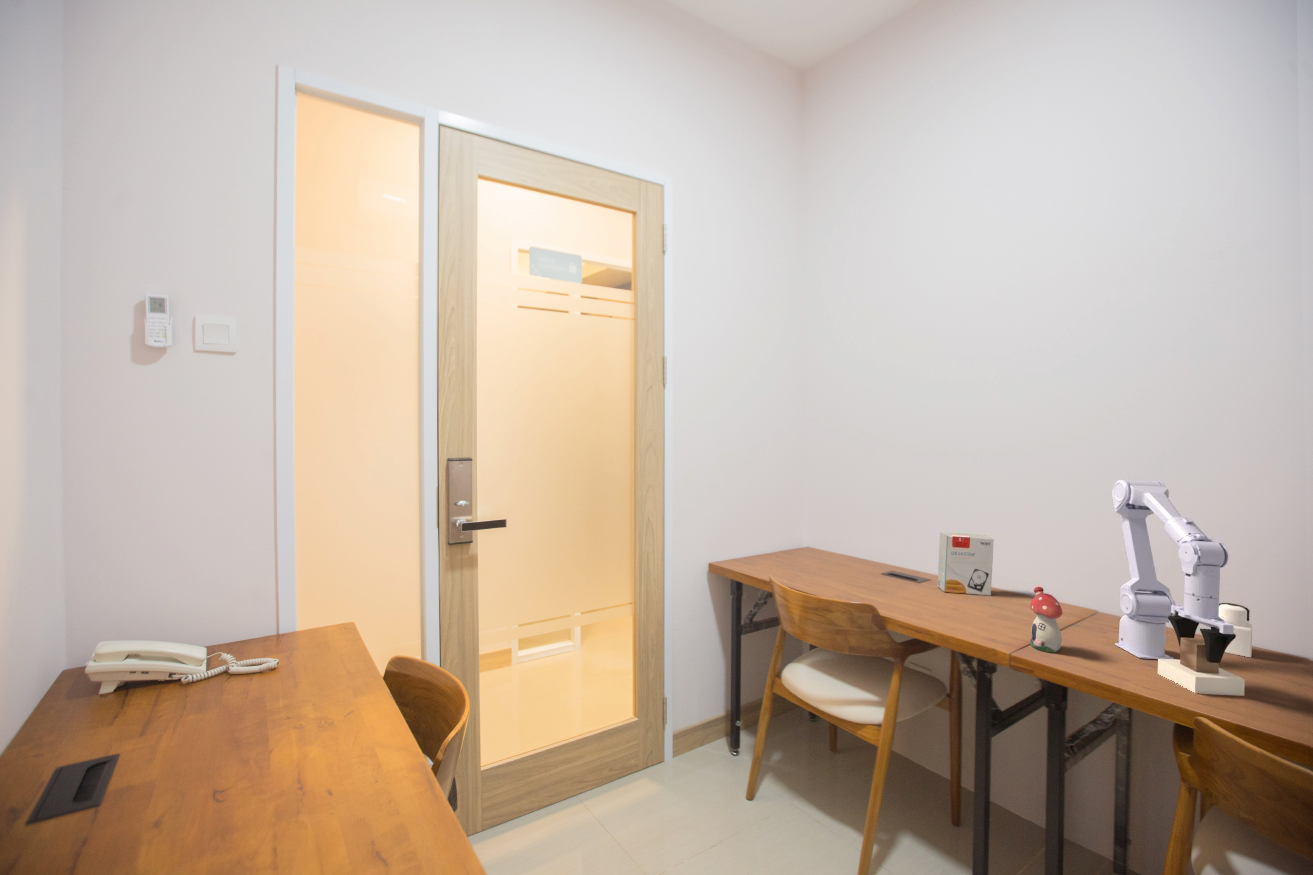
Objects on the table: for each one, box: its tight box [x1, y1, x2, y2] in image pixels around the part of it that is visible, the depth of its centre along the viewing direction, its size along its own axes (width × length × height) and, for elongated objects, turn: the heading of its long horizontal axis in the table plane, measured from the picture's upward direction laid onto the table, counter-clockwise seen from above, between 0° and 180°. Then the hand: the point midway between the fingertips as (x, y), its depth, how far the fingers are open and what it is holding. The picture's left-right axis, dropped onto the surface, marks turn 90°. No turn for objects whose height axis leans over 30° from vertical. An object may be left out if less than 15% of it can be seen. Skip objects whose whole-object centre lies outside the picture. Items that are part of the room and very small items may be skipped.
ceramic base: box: [1157, 658, 1246, 697], centre depth 129 cm, size 10×10×4 cm
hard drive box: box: [937, 531, 995, 597], centre depth 203 cm, size 16×8×20 cm, turn 81°
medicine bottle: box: [1219, 602, 1253, 658], centre depth 151 cm, size 7×7×12 cm
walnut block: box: [1179, 637, 1220, 673], centre depth 129 cm, size 4×4×6 cm
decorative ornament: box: [1029, 586, 1063, 653], centre depth 150 cm, size 9×6×15 cm
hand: (1199, 655), depth 129 cm, fingers open, 7 cm apart
